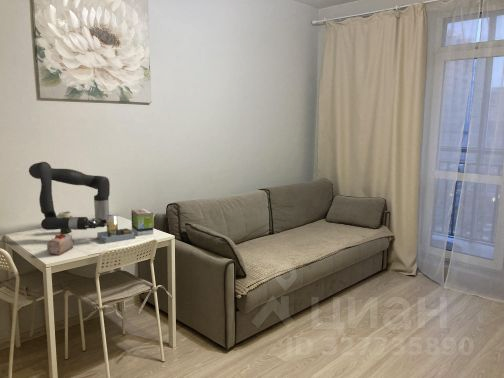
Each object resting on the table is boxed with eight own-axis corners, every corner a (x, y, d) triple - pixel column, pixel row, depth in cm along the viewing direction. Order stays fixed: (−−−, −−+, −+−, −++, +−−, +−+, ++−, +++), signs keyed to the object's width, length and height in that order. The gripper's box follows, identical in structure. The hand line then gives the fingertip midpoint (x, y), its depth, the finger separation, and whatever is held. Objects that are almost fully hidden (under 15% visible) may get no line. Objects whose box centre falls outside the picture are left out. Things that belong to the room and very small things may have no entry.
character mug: (77, 231, 262) (76, 211, 260) (70, 234, 255) (69, 214, 253) (61, 230, 264) (60, 210, 262) (54, 233, 257) (53, 213, 255)
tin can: (105, 238, 246) (104, 215, 244) (116, 236, 249) (115, 214, 247) (109, 240, 241) (108, 217, 239) (119, 239, 245) (118, 216, 242)
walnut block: (121, 235, 251) (121, 229, 250) (127, 234, 254) (127, 228, 253) (124, 238, 246) (124, 231, 246) (131, 237, 249) (131, 230, 248)
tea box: (154, 235, 257) (153, 212, 254) (138, 237, 251) (137, 213, 249) (146, 229, 269) (146, 207, 267) (131, 231, 264) (130, 209, 262)
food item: (60, 256, 215) (59, 238, 214) (46, 255, 216) (44, 237, 215) (74, 248, 229) (73, 231, 227) (61, 247, 230) (60, 230, 228)
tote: (97, 239, 247) (97, 232, 246) (126, 234, 257) (126, 228, 257) (104, 244, 236) (104, 238, 235) (135, 239, 246) (135, 233, 246)
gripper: (73, 220, 235) (103, 220, 236) (82, 214, 249) (109, 214, 250) (74, 232, 236) (103, 232, 237) (82, 226, 250) (110, 226, 251)
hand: (106, 223), depth 244 cm, fingers open, 8 cm apart
